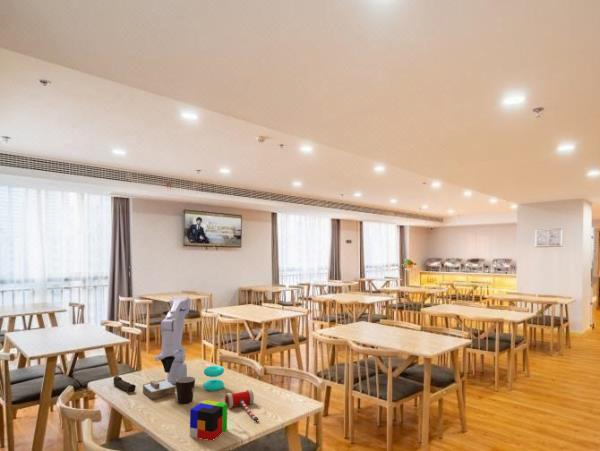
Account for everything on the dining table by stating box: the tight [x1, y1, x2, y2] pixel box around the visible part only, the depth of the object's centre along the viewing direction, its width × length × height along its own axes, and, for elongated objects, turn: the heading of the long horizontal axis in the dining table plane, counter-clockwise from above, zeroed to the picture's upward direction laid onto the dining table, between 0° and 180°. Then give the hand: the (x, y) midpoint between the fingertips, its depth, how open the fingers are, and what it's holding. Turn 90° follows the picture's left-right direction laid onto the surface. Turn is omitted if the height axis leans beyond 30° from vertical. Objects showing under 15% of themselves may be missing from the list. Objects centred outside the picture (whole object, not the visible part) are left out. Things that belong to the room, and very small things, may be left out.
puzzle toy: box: [189, 399, 228, 441], centre depth 154 cm, size 10×10×10 cm
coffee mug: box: [175, 375, 196, 405], centre depth 183 cm, size 12×9×10 cm
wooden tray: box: [142, 379, 177, 401], centre depth 194 cm, size 11×13×4 cm
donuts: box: [203, 365, 225, 392], centre depth 202 cm, size 10×10×10 cm
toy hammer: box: [224, 388, 259, 422], centre depth 174 cm, size 23×12×6 cm, turn 29°
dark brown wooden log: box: [113, 375, 137, 394], centre depth 201 cm, size 19×4×5 cm, turn 47°
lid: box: [142, 379, 175, 393], centre depth 194 cm, size 11×11×3 cm
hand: (167, 372), depth 197 cm, fingers closed
